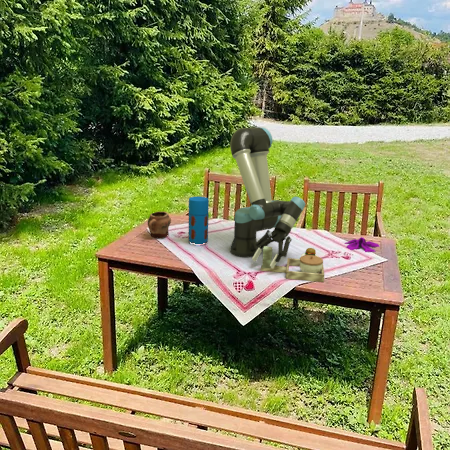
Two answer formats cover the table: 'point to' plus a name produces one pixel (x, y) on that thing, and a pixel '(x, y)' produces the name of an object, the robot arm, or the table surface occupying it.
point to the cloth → (361, 245)
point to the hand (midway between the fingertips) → (262, 263)
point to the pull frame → (289, 274)
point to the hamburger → (310, 252)
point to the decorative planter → (159, 224)
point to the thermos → (198, 220)
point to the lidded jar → (311, 264)
